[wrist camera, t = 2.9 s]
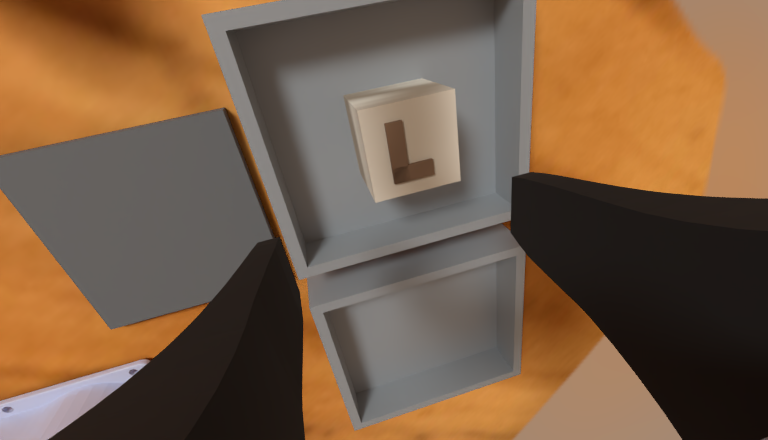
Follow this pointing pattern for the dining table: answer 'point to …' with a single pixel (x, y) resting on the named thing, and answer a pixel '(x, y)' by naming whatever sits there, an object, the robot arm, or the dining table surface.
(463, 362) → the tray
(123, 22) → the dining table surface
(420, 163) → the letter cube
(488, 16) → the tray
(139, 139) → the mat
